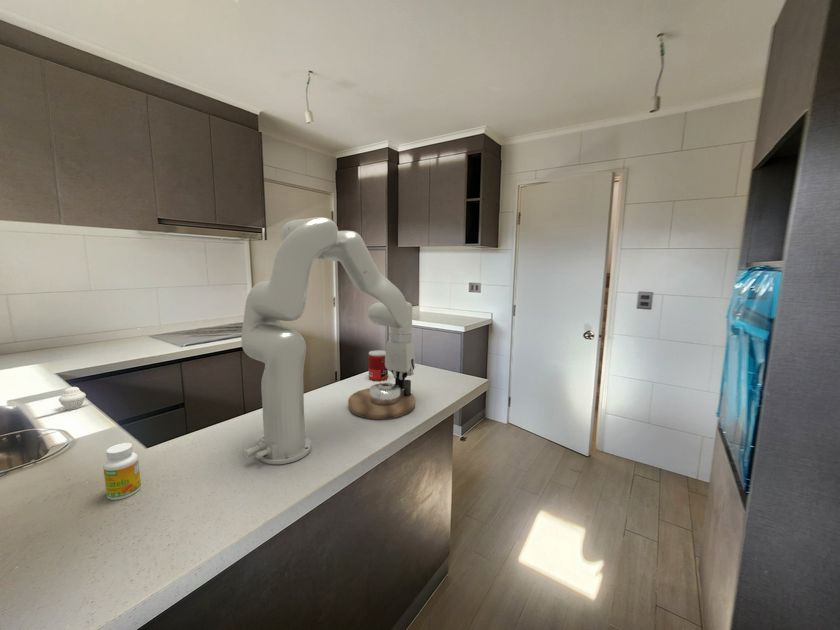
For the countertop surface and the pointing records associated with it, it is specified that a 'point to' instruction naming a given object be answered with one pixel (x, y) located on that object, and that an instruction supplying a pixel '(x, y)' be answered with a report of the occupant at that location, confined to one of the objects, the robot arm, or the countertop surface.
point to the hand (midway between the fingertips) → (399, 389)
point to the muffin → (72, 398)
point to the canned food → (377, 366)
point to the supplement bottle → (121, 471)
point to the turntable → (365, 408)
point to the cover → (385, 394)
